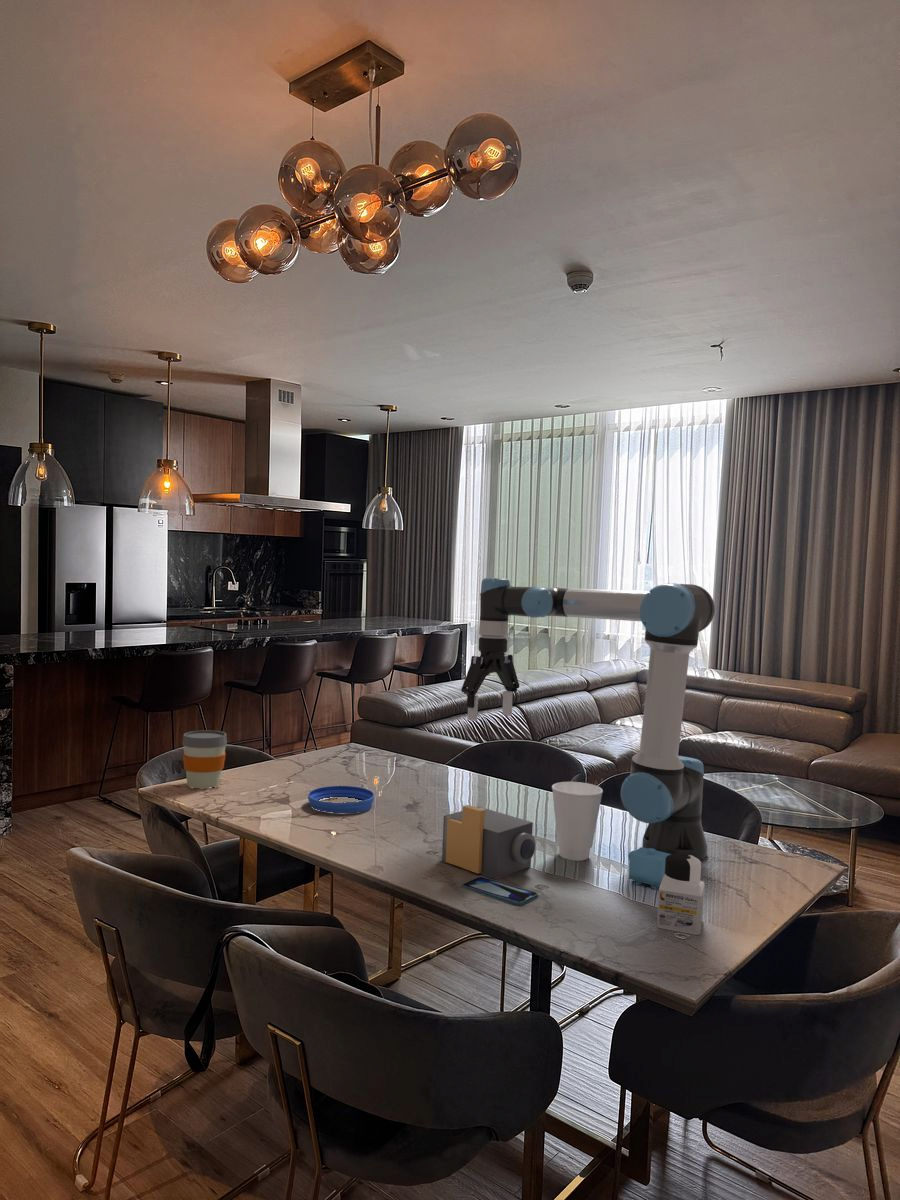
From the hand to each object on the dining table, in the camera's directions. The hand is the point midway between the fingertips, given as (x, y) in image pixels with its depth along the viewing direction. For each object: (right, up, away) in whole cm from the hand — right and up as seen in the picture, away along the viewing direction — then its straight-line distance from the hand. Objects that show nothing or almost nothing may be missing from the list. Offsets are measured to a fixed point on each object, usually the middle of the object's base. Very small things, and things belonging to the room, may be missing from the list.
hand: (490, 717), depth 218 cm
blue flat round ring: (-40, -26, +10) cm, 49 cm away
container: (+33, -31, -60) cm, 75 cm away
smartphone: (0, -29, -47) cm, 56 cm away
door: (-8, -28, -35) cm, 45 cm away
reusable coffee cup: (-83, -23, +25) cm, 90 cm away
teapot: (+33, -30, -40) cm, 60 cm away
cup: (+19, -29, -23) cm, 42 cm away
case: (-1, -28, -32) cm, 43 cm away
